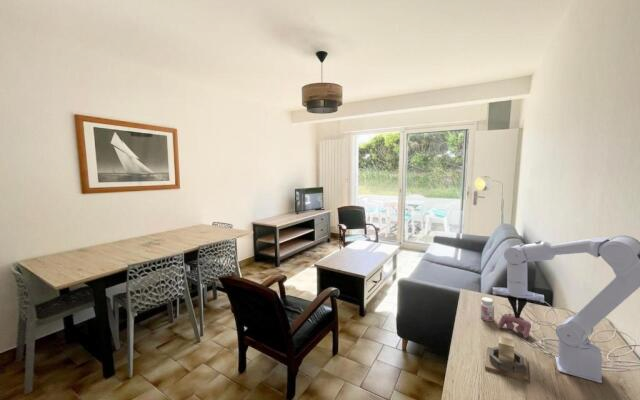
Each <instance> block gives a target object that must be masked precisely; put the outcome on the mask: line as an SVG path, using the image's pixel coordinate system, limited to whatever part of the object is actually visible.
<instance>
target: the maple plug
mask: <svg viewBox="0 0 640 400" xmlns="http://www.w3.org/2000/svg"><path fill="white" fill-rule="evenodd" d="M498 347H499V360H500V361H503V362H506V363H510V364H514V351H515V340H514V339H512V338H508V337H504V336H500V335H499V336H498Z"/></svg>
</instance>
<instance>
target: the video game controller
mask: <svg viewBox="0 0 640 400" xmlns="http://www.w3.org/2000/svg"><path fill="white" fill-rule="evenodd" d="M514 324H516V325H517V326H516V327H515V325H514ZM497 325H498V326H497V327H498V329H500V330H501V329H503V327H504V326H506V327H507V329H509V330H514V328H515V330H516V332H517V333H520V334H521V333H523V334H522V335H523V339H527V338H528V337H529V335H530V331H531V329H532V324H531V323H530V321H528V320H527V319H525V318H523V317H522V316H520V318H515V315H514V313H513V314H512V313H504V314H502V315H501V317H500V319H499V321H498V324H497Z"/></svg>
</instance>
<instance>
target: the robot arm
mask: <svg viewBox="0 0 640 400" xmlns="http://www.w3.org/2000/svg"><path fill="white" fill-rule="evenodd" d="M583 253H584V254H585V253H587V254H589V255H591V256H593V257H595V258H596V259H597V258H599V257H601V258H602V259H603V261H604V262H606V264H608V266H610V268H611V269H612V270H613V274H615V277H614V278H613V279H612V280H611V281H610V282H609V283H608V284H607V285H606V286H605V287H604V288H603V289H602V290H600V291H599V292H598V293H597V294H596V295H595V296H594V297H593V298H591V300H590V301H589V302H588V303H586V305H584V306H583V307H582V308H581V309H580V310H579V312H577V313H575V314H572V315H569V316H567V317H566V319H565V320H564V321H563V322H562V323H560V324H558V325H557V326H556V327H555V334H556V336H557V338H558V341H557V343H558V344H557V345H558V346H557V348H558V349H557V352H558V353H557V354H558V355H557V356H558V357H556V356H554V359H555V363H556V367H557V370H558V372H560V373H564V374H568V375H570V376H574V377H578V378H581V379H584V380H585V379H586V380H588V381H589V380H590V381H593V382H596V383H599V384H602V383H603V380H602V374H603V373H602V371H603V370H602V368H603V359H602V350H601V348H600V346H598V345H596V344H593V343H591V340H590V339H589V336H591V335H592V334H593V332H594V328H595V327H596V326H597V325H598V324H599V323H600V322H601V321H603V320H604V319H605V318H606V317H607V316H608V315H609V314H611V313H612V312H613V311H614V310H615V309H617V307H619V306H620V305H621V304H622V303H623V302H624V301H625V300H627V299H628V298H629V297H630V296H631V295H632V294H633V293H635V292H636V291H637V290H639V288H640V241H639V239H637V238H635V237H633V236H629V235H616V236H614V237H613V236H609V235H608V236H600V237H599V236H598V237H592V238H591V237H589V238H584V239H579V240H572V241H568V242H561V243H555V244H552V243H550V242H548V241H542V240H537V241H534V242H533V243H528V244H527V243H526V244H525V243H524V242H523V243H520V244H517V245H513V246H511V247H509V248H507V249H505V251H504V252H503V257H504V259H505V260H506V264H507V265H506V271H507V272H506V274H507V275H506V279H507V280H506V281H507V282H506V283H507V285H506V286H507V287H497V286H496V287H495V286H492V295H502V296H507V301H508V303H509V304H510V306H511V308H512V311H513V315H515V318H520V317H521V313H522V311H523V310H524V308H525V306H526V305H527V303H528V300H531V301H535V302H536V301H537V302H540V303H545V295H544V294H540V293H536V292H532V291H528V262H529V263H531V262H541V261H551V260H553V259H555V257H556V256H560V255H570V254H571V255H572V254H583Z"/></svg>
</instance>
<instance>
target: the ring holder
mask: <svg viewBox="0 0 640 400" xmlns="http://www.w3.org/2000/svg"><path fill="white" fill-rule="evenodd" d="M485 356H486V357H485V362H484V364H485V365H484V370H487V371H491V372H494V373H495V374H496V373H497V374H500V375H502V376H503V375H504V376H506V377H509V378H513V379H516V380H519V381H523V382H524V383H530V378H529V366H528V363H529V362H528V357H527V356H523V355H521V354H520V353H519V352H517V351H516V350H514V364H510V363H506V362H503V361H500V360H499V346H494V347H489V346H488V347H487V349H486V355H485Z"/></svg>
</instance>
